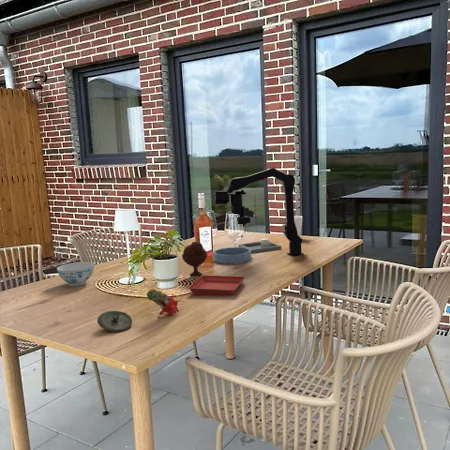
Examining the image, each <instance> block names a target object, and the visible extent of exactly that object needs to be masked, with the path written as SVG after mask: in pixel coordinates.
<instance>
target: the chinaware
mask: <svg viewBox="0 0 450 450" xmlns="http://www.w3.org/2000/svg"><path fill="white" fill-rule="evenodd" d="M94 269H95V263H94V262H92V261H91V262H90V261H79V262H70V263H66V264H63V265H60V266H58V267H56V270H57V273H58V275H59V277H60V278H61V279H62V280H63V281H64V282H66V283H67V284H68V285H69V286H70V287H80V286H83V285H85V284H86V283H87V281H88V280H89V279H90V278H91V276H92V275H93V272H94ZM79 285H80V286H79Z"/></svg>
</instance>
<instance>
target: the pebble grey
mask: <svg viewBox="0 0 450 450" xmlns="http://www.w3.org/2000/svg"><path fill="white" fill-rule="evenodd" d="M260 242H261V248H265V247H270V242H271V239H270V238H261V239H260Z"/></svg>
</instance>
